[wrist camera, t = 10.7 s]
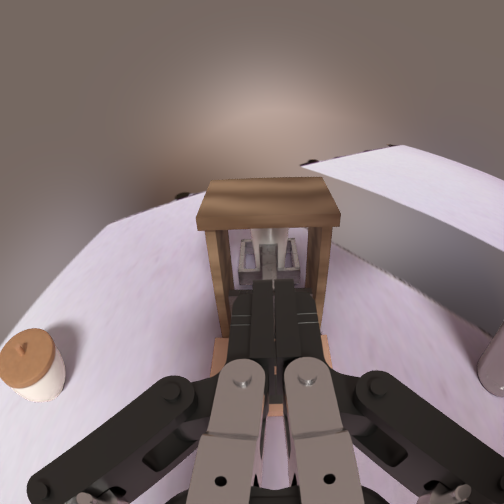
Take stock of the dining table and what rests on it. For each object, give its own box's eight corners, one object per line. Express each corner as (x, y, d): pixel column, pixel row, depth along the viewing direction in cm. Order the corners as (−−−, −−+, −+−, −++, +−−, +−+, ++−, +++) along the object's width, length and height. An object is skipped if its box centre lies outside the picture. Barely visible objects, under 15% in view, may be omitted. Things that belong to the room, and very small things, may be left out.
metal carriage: (242, 252, 63) (238, 205, 58) (294, 250, 63) (295, 203, 57) (233, 351, 42) (225, 296, 36) (308, 349, 42) (315, 294, 36)
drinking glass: (254, 286, 55) (249, 209, 46) (250, 264, 60) (246, 193, 52) (291, 282, 55) (293, 206, 47) (284, 261, 61) (285, 190, 52)
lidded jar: (84, 362, 40) (57, 321, 35) (65, 420, 31) (29, 382, 26) (36, 357, 40) (9, 318, 35) (15, 407, 31) (-19, 370, 26)
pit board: (216, 344, 44) (215, 337, 43) (325, 341, 43) (326, 334, 42) (207, 415, 34) (205, 409, 33) (336, 412, 33) (339, 406, 32)
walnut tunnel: (225, 292, 54) (210, 180, 42) (314, 289, 53) (321, 176, 42) (218, 343, 44) (195, 217, 33) (323, 340, 43) (340, 213, 32)
